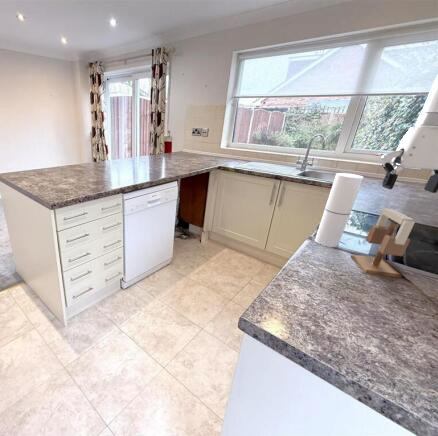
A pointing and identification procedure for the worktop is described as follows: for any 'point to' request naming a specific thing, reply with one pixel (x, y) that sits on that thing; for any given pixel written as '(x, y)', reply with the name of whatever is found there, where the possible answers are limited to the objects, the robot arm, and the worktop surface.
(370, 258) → the stand
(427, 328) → the worktop surface
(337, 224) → the cylindrical container
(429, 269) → the worktop surface
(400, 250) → the wooden bracket
